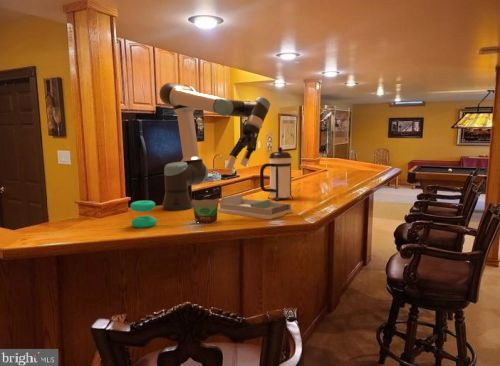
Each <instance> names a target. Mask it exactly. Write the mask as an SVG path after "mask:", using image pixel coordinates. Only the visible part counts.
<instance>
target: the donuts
mask: <svg viewBox="0 0 500 366" xmlns="http://www.w3.org/2000/svg"><path fill="white" fill-rule="evenodd" d="M129 206H130V209H131V211H134V212H139V213H143V212H149V211H152V210H154V209H155V207H156V202H155V201H153V200H146V199H145V200H136V201H133V202H131V203H130V205H129ZM130 223H131V224H130V225H131V226H132V227H133V228H139V229H143V228H144V229H145V228H150V227H153V226H155V225H156V224H157V218H155V217H153V216H152V215H140V216H137V217H134V218H133V219H132V220H131V221H130Z"/></svg>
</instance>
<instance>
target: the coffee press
mask: <svg viewBox="0 0 500 366" xmlns="http://www.w3.org/2000/svg"><path fill="white" fill-rule="evenodd" d="M277 150H278V151H273V152H271V153H270V154H269V157H268V159H269V163H264V164H262V166H261V167H260V170H259V184H260V185H259V186H260V189H261V190H262V191H263V192H266V193H269V194H268V195H267V196H268V197H267V200H268V199H269V200H271V198H274V199H275V200H274V201H275V202H278V201H279V199H286V198H287V199H289V200H291V201H292V200H294V197H293V196H292V161H293V158H292V157H293V156H292V155H291V153H290V152H288V151H283V148H282V147H281V146H279V147H278V149H277ZM268 167H269V188H266V187H265V185H264V184H265V181H264V172H265V169H266V168H268Z"/></svg>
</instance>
